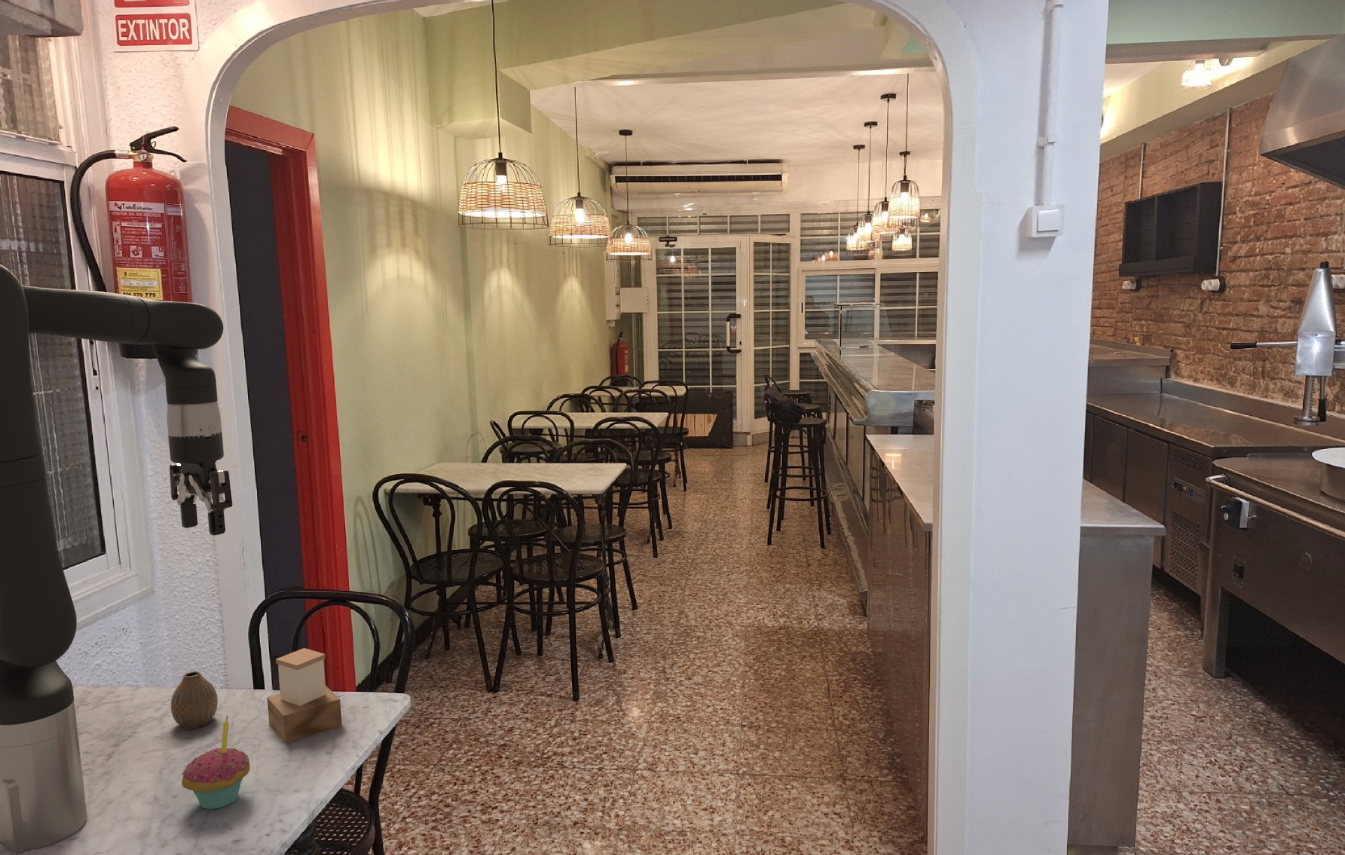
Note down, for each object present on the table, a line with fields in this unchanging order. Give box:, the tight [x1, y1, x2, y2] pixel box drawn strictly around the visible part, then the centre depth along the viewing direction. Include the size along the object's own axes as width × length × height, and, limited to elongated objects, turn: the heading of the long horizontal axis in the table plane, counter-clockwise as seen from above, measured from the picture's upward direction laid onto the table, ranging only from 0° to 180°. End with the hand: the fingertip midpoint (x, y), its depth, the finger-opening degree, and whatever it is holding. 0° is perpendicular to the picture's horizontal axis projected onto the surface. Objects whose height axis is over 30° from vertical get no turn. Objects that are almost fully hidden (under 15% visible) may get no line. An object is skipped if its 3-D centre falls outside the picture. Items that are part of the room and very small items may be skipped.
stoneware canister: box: [275, 647, 326, 706], centre depth 144 cm, size 5×5×7 cm
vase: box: [170, 670, 219, 730], centre depth 145 cm, size 7×7×9 cm
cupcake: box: [181, 715, 251, 810], centre depth 122 cm, size 9×8×12 cm
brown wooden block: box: [266, 684, 343, 744], centre depth 145 cm, size 9×9×5 cm
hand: (203, 530), depth 139 cm, fingers open, 8 cm apart
